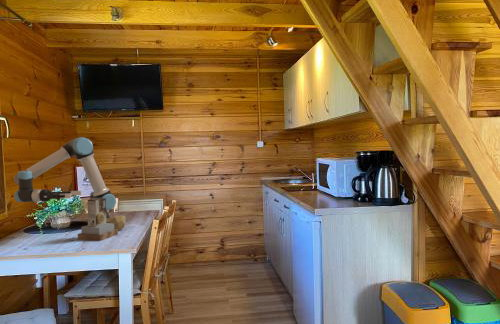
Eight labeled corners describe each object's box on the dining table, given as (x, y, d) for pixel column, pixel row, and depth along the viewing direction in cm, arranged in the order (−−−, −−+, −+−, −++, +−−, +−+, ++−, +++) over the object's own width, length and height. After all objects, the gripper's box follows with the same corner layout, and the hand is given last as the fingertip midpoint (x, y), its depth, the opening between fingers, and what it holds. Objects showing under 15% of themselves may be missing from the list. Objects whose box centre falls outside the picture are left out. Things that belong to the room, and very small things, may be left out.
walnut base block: (96, 234, 225) (96, 228, 225) (118, 235, 221) (117, 229, 221) (77, 240, 210) (77, 234, 210) (100, 242, 206) (100, 235, 205)
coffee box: (98, 223, 221) (98, 197, 220) (106, 224, 218) (106, 198, 218) (87, 226, 212) (87, 199, 211) (96, 227, 210) (95, 200, 209)
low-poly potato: (130, 229, 235) (126, 219, 243) (127, 217, 229) (122, 207, 237) (107, 238, 229) (103, 227, 237) (103, 226, 223) (99, 215, 231)
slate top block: (97, 228, 224) (97, 222, 224) (114, 229, 220) (114, 223, 220) (81, 233, 211) (81, 226, 211) (99, 234, 207) (99, 227, 207)
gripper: (53, 198, 233) (85, 197, 233) (30, 204, 208) (66, 203, 208) (52, 187, 233) (84, 186, 233) (29, 192, 208) (65, 190, 208)
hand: (76, 194), depth 221 cm, fingers open, 13 cm apart
